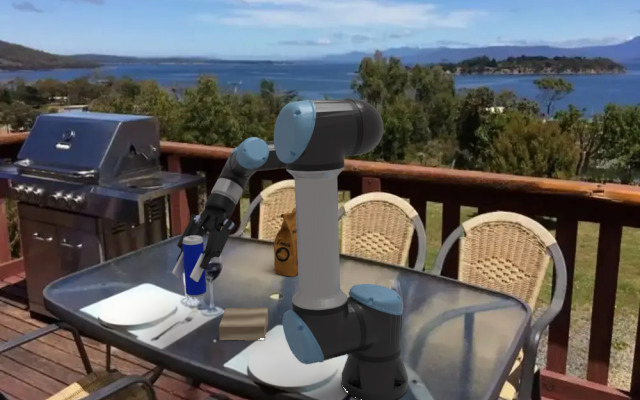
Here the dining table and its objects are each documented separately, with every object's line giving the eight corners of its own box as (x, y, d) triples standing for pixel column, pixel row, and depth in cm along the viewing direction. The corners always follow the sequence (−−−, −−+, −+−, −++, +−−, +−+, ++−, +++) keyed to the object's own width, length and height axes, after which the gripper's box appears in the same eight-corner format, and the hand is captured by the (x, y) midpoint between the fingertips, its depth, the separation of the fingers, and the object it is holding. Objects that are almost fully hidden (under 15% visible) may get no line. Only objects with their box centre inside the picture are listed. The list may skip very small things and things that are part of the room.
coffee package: (269, 274, 199) (267, 213, 194) (288, 263, 210) (286, 205, 205) (294, 278, 195) (293, 216, 190) (311, 267, 205) (311, 208, 200)
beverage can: (210, 293, 146) (207, 237, 143) (193, 299, 143) (189, 242, 139) (199, 288, 150) (195, 233, 146) (182, 293, 146) (178, 238, 143)
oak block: (264, 340, 152) (264, 326, 151) (219, 340, 152) (218, 327, 151) (268, 320, 163) (267, 307, 163) (226, 320, 163) (225, 308, 162)
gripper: (257, 210, 150) (220, 290, 140) (204, 203, 159) (166, 277, 149) (244, 195, 145) (205, 276, 135) (189, 188, 153) (149, 264, 143)
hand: (184, 277), depth 142 cm, fingers closed on beverage can, 5 cm apart
